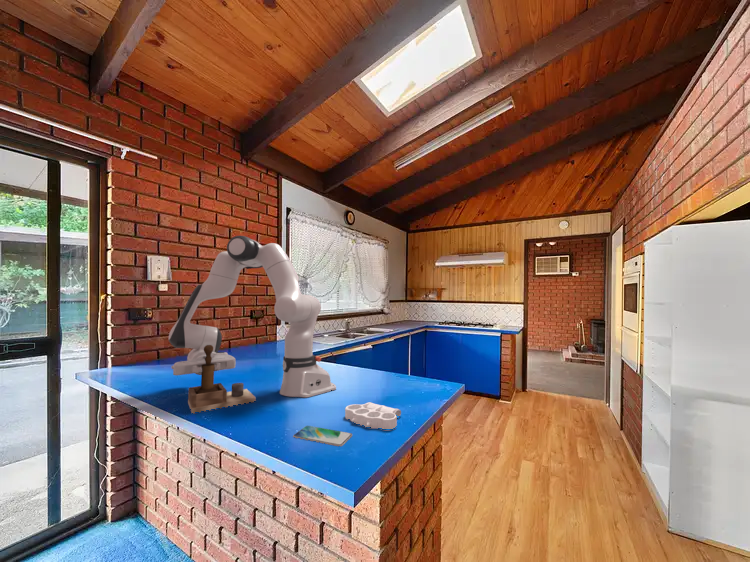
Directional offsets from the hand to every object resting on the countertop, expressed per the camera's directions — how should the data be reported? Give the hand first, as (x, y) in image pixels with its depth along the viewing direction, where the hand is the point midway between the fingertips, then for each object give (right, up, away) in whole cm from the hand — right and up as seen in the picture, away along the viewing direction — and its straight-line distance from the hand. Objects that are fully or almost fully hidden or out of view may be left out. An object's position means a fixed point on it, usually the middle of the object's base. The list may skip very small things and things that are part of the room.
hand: (208, 369), depth 109 cm
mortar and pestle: (-1, -10, 0) cm, 10 cm away
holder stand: (+3, -13, +3) cm, 13 cm away
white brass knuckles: (+58, -13, -12) cm, 61 cm away
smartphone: (+44, -12, -24) cm, 52 cm away
